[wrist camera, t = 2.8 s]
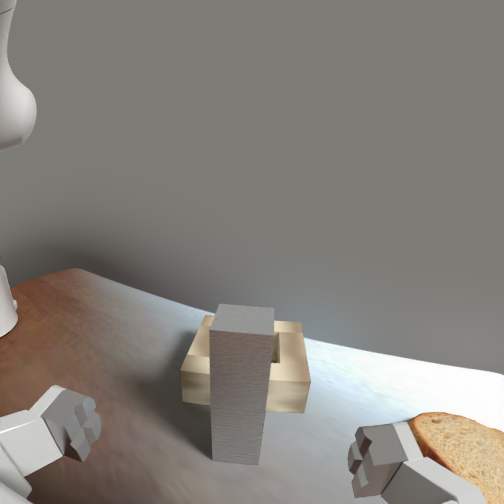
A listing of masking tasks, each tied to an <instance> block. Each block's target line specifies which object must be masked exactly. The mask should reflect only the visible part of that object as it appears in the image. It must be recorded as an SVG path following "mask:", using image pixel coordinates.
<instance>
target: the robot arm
mask: <svg viewBox="0 0 504 504" xmlns="http://www.w3.org/2000/svg"><path fill="white" fill-rule="evenodd" d="M16 1H17V0H0V152H1V151H4V150H7V149H10V148H13V147H16V146H19V145H22V144H23V143H24V142H25V141H26V139H27V138H28V136H29V135H30V133H31V132H32V129H33V127H34V124H35V121H36V114H37V107H36V102H35V98H34V96H33V94H32V93H31V91H30V90H29V89H28V88H26V87H25V86H24V85H22V84H21V83H20V82H19V81H18V80H17V79H16V77H15V76H14V74H13V73H12V71H11V69H10V66H9V64H8V59H7V42H8V34H9V28H10V24H11V19H12V15H13V12H14V8H15V5H16ZM17 307H18V305H17V302H16V300H13V299H12V295H11V292H10V288H9V285H8V281H7V277H6V273H5V270H4V268H3V266H1V265H0V337H1V336H3V335H5V334H6V333H8V332H9V331H10V330H11V329H12V328H13V327H14V326H15V325H16V323H17V321H18V315H17V313H16V310H17ZM95 407H96V405H95V402H94V399H92V398H90V397H88V396H85V395H82V394H79V393H76V392H73V391H71V390H68V389H65V388H62V387H60V386H57V385H54V386H52V387H51V388H50V389H49V390H48V391H47V392H46V393H45V394H44V395H43V396H42V397H41V398H40V399H39V400H38V401H37V402H36V404H35V405H34V406H33V407H32V408H31V409H30V410H29V411H27V410H23V411H20V412H17V413H14V414H10V415H7V416H4V417H1V418H0V504H33V503H31V502H30V501H28V500H27V499H26V498H27V497H28V495H29V494H30V492H31V491H32V488H31V485H30V484H29V483H28V482H27V481H26V479H25V478H24V477H25V476H27V475H29V474H31V473H32V472H34V471H36V470H38V469H40V468H42V467H44V466H46V465H47V464H49V463H51V462H53V461H55V460H56V459H58V458H60V457H62V456H63V455H64V456H67V457H69V458H72V459H74V460H77V461H80V462H82V463H83V462H84V461H85V459H86V457H87V456H88V454H89V452H90V451H91V446H90V444H91V443H93V442H95V441H97V439H98V438H99V436H100V433H101V429H102V424H101V419H100V416H99V415H98V414H97V413H96V412H95V411H94V409H95ZM355 437H356V441H355V442H354V443H352V444H351V446H350V449H349V453H348V467H349V471H350V472H351V473H352V474H354V475H355V476H354V478H353V480H352V487H353V492H354V497H355V498H359V497H368V496H375V495H381V497H382V498H383V499H384V500H385V501H386V502H387V503H388V504H487V502H486V500H485V498H484V496H483V494H482V492H481V490H480V488H478V487H476V486H475V485H473V484H471V483H470V482H468V481H466V480H464V479H463V478H461V477H459V476H458V475H456V474H454V473H453V472H451V471H449V470H448V469H446V468H444V467H443V466H441V465H440V464H438V463H436V462H435V461H433V460H432V459H430V458H428V457H425V458H423V456H422V453H421V451H420V449H419V447H418V445H417V442H416V440H415V438H414V436H413V434H412V432H411V430H410V427H409V425H408V423H406V422H399V423H391V424H382V425H374V426H363V427H359V428H358V429H357V431H356V434H355Z"/></svg>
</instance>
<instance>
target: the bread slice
mask: <svg viewBox="0 0 504 504" xmlns="http://www.w3.org/2000/svg"><path fill="white" fill-rule="evenodd" d="M406 423H408V425H409V427H410V430H411V432H412V434H413V436H414V438H415V440H416V442H417V445H418V447H419V449H420V451H421V453H422V456H423V458H425V457H428V458H430V459H432V460H433V461H435V462H436V463H438V464H440V465H441V466H443V467H444V468H446V469H448V470H449V471H451V472H453V473H454V474H456V475H458V476H459V477H461V478H463V479H464V480H466V481H468V482H470V483H471V484H473V485H475V486H476V487H478V488H480V490H481V492H482V494H483V496H484V498H485V500H486V502H487V504H504V433H503V432H502V431H500V430H497V429H492V428H488V427H486V426H484V425H482V424H480V423H478V422H476V421H475V420H471V419H468V418H466V417H463V416H458V415H452V414H448V413H445V412H430V413H422V414H419V415H418V416H416V417H414V418H412V419H410V420H409V421H407V422H406Z"/></svg>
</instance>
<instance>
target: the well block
mask: <svg viewBox="0 0 504 504" xmlns="http://www.w3.org/2000/svg"><path fill="white" fill-rule="evenodd" d="M214 317H215V316H212V315H205V317H204V319H203V321H202V323H201V325H200V328H199V330H198V332H197V334H196V336H195V338H194V341H193V343H192V345H191V347H190V349H189V351H188V354H187V356H186V358H185V360H184V362H183V364H182V367H181V369H180V377H181V388H182V398H183V402H188V403H194V404H201V405H208V406H210V359H209V329H210V327H211V324H212V322H213V319H214ZM272 360H273V361H276V363H271V369H270V378H269V386H268V395H267V403H266V411H270V412H292V413H304V410H305V406H306V401H307V397H308V392H309V388H310V383H311V380H310V374H309V367H308V361H307V355H306V349H305V343H304V338H303V332H302V326H301V322H285V321H274V343H273V352H272Z"/></svg>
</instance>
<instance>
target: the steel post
mask: <svg viewBox="0 0 504 504" xmlns="http://www.w3.org/2000/svg"><path fill="white" fill-rule="evenodd" d="M273 343H274V308H264V307H251V306H240V305H228V304H219V307H218V309H217V312H216V314H215V317H214V319H213V322H212V324H211V327H210V329H209V359H210V406H211V434H212V455H213V461H221V462H229V463H239V464H250V465H258V463H259V456H260V449H261V441H262V434H263V426H264V419H265V411H266V403H267V395H268V386H269V378H270V369H271V361H272V352H273Z"/></svg>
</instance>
